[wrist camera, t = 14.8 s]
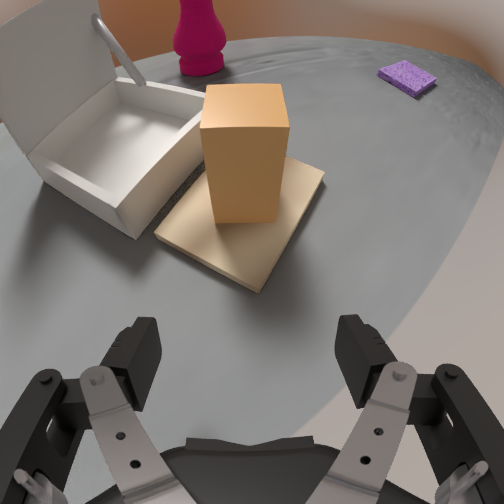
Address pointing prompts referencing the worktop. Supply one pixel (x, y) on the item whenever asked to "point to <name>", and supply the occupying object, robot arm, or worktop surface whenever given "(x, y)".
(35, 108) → the equipment case
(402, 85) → the sponges
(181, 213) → the board
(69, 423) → the robot arm
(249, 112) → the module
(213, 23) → the pepper mill
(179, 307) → the worktop surface
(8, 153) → the worktop surface
